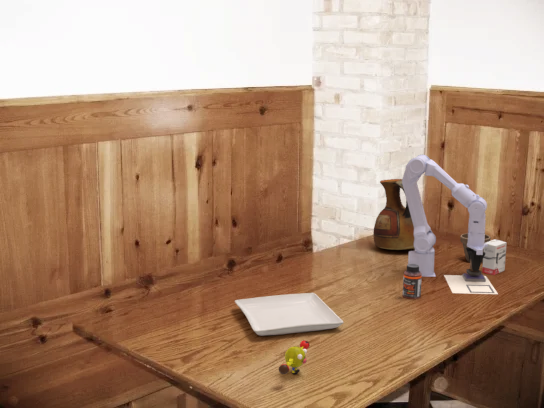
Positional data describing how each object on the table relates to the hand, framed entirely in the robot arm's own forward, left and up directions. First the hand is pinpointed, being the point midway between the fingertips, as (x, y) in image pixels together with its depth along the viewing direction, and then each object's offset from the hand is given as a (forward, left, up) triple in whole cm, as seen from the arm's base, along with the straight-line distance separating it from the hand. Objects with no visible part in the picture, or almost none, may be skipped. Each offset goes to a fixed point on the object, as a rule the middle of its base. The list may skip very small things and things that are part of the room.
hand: (474, 269), depth 243 cm
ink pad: (0, 0, -4) cm, 4 cm away
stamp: (0, 0, -2) cm, 2 cm away
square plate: (-64, -43, -5) cm, 77 cm away
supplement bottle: (-24, -20, -4) cm, 32 cm away
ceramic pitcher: (-24, +41, -5) cm, 48 cm away
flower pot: (+5, +26, -5) cm, 27 cm away
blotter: (-3, -6, -4) cm, 8 cm away
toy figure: (-59, -79, -4) cm, 99 cm away
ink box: (+9, +10, -5) cm, 14 cm away
